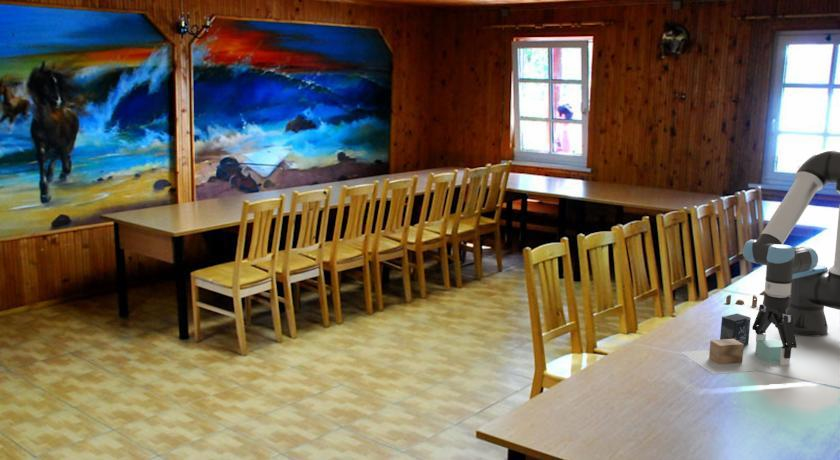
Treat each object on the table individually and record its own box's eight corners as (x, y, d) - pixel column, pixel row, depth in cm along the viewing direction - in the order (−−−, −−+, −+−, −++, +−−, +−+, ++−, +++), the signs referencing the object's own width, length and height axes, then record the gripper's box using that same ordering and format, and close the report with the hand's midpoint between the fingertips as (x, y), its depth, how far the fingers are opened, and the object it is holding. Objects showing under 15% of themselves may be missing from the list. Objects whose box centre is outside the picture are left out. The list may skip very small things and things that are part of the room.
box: (733, 351, 264) (735, 320, 262) (718, 347, 269) (721, 316, 267) (748, 347, 268) (751, 316, 266) (734, 343, 273) (736, 312, 271)
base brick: (732, 356, 256) (733, 338, 255) (742, 362, 251) (743, 344, 249) (709, 358, 254) (710, 340, 253) (718, 364, 249) (719, 345, 248)
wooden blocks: (809, 313, 310) (811, 294, 308) (809, 315, 307) (811, 296, 306) (726, 302, 323) (728, 284, 322) (725, 303, 320) (727, 285, 319)
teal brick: (775, 357, 259) (776, 339, 258) (788, 364, 253) (790, 346, 252) (755, 358, 258) (756, 340, 257) (768, 366, 252) (769, 347, 250)
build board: (736, 351, 264) (737, 348, 264) (773, 373, 245) (773, 369, 245) (680, 355, 261) (680, 352, 260) (712, 377, 241) (712, 374, 241)
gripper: (744, 285, 263) (739, 348, 267) (790, 305, 239) (784, 374, 243) (765, 284, 264) (760, 347, 268) (813, 304, 240) (807, 373, 244)
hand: (771, 360), depth 255 cm, fingers open, 12 cm apart
